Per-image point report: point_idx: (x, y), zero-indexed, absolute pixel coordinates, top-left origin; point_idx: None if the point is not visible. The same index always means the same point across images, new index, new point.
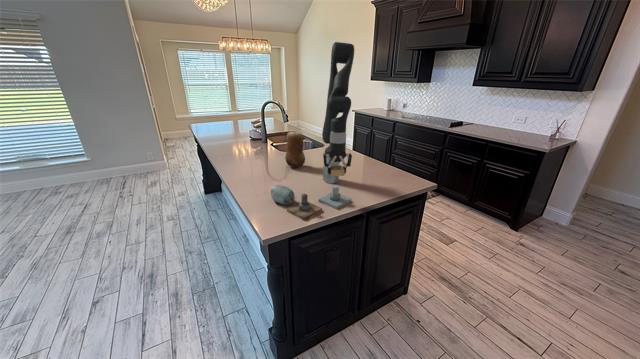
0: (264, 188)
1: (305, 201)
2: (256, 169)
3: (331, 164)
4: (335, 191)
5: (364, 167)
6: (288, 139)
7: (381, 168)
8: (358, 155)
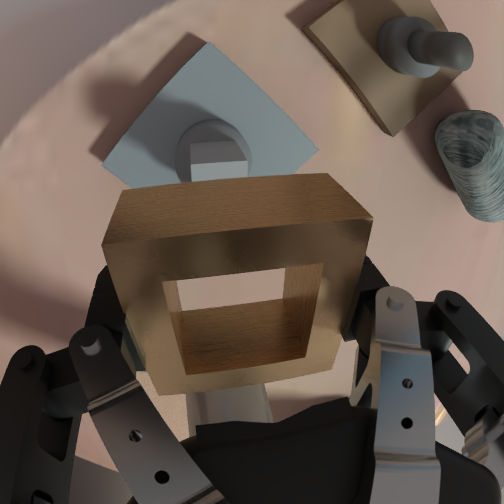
0: (476, 263)
1: (432, 31)
2: None
3: (382, 338)
4: (217, 151)
5: (101, 439)
6: None
7: None
8: None
